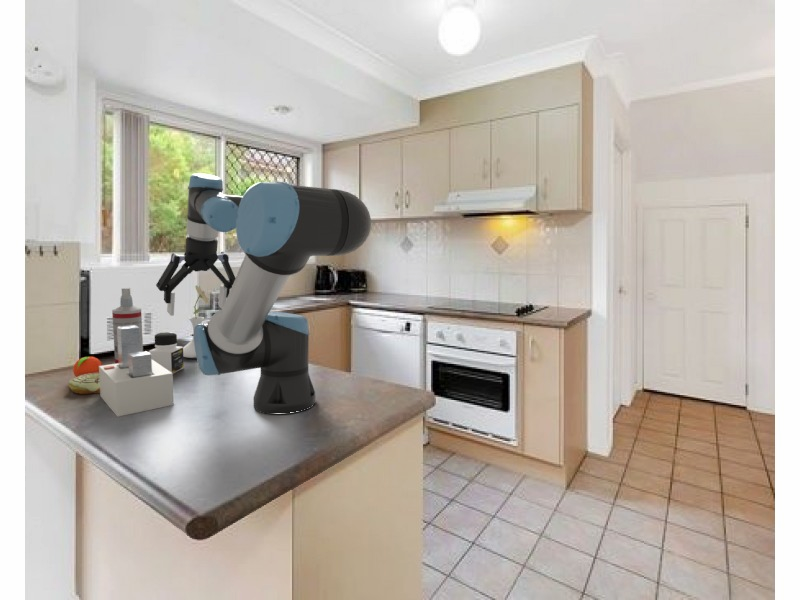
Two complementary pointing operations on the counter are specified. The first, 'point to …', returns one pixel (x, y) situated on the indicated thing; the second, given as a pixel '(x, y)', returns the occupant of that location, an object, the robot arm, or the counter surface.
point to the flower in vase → (190, 347)
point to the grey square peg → (139, 364)
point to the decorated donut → (85, 383)
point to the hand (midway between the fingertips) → (197, 310)
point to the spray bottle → (126, 319)
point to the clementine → (86, 366)
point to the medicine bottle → (168, 352)
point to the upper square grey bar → (127, 343)
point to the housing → (135, 389)
